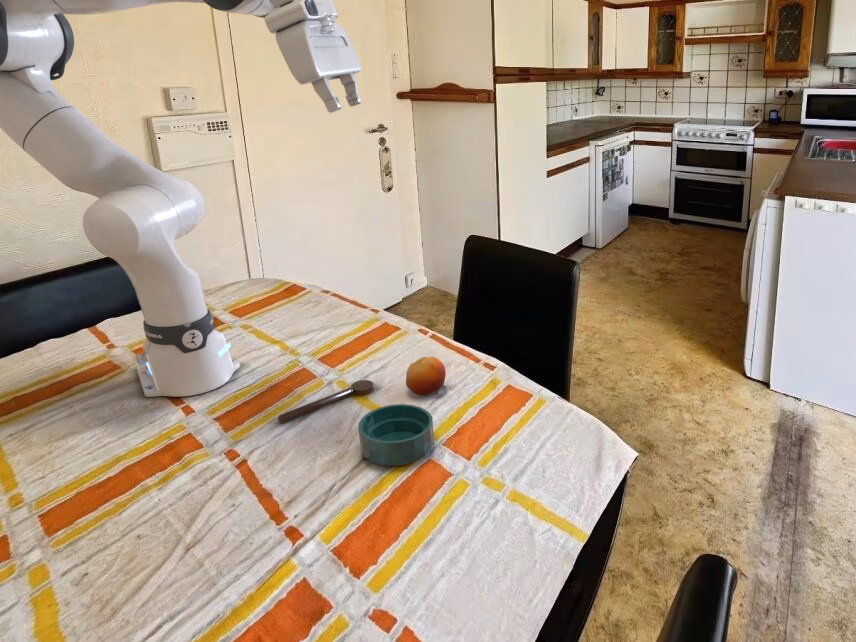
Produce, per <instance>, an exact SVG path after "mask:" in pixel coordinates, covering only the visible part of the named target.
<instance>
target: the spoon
mask: <svg viewBox="0 0 856 642" xmlns="http://www.w3.org/2000/svg"><path fill="white" fill-rule="evenodd" d="M374 391H375V384H374V382H373V381H372V380H368V379H361V380H356V381H354V382H353V383H351V385H350V387H347V388H345V389H343V390H340V391H337V392H334V393H332V394H329V395H327V396H325V397H321V398H319V399H317V400H314V401H312V402H309V403H306V404H304V405H302V406H299V407H296V408H294V409H292V410H289V411H286V412H284V413H281V414H279V415H278V417H277V421H278V422H279V423H280V424H285V423H288V422H289V421H290V422H291V421H292V420H294V419H297V418H299V417H302V416H304V415H307V414H310V413H312V412H315V411H317V410H320V409H322V408H324V407H327V406H329V405H332V404H334V403H336V402H337V403H338V402H340V401H341V400H344V399H346V398H349V397H352V396H353V395H355V396H359V397H361V396H362V397H363V396H368V395H371V394H372V393H373V392H374Z"/></svg>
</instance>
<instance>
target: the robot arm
mask: <svg viewBox="0 0 856 642" xmlns="http://www.w3.org/2000/svg"><path fill="white" fill-rule="evenodd" d="M168 3H169V4H170V3H194V4H195V3H198V4H206V5H208V6H209V7H210V8H212V9H215V10H216V11H217V10H218V11H220V12H223V13H228V14H237V15H246V16H253V17H258V18H262V19H264V23H265V25H266V27H267V29H268V31H269V32H270V33H271V34H273V35H275V40H276V44H277V46H278V48H279V51H280V53H281V55H282V57H283V59H284V61H285V64H286V66H287V67H288V69H289V71H290V73H291V75H292V77H293V78H294V80H296V81H297V83H298V84H300V85H302V86H303V85H308V84H311V85H312V88H313V90H314V91H315V93H316V94H317V96H318V97H319V98H320V99H321V101H322V102H323V103H324V106H325V108H326V111H327V112H328V113H334V112H337V111H340V110H341V109H342V105H341V103H340V101H339V98H338V96H335V94H334V93H333V90H332V88H331V87H330V86H331V84H330V81H333V80H338V79H339V81H340V83H341V85H342V86H343V88H344V91H345V95H346V96H345V99H346V101H347V104H348V106H349V107H351V108H352V107H356V106H358V105H361V103H362V99H361V97H360V95H359V92H358V84H357V79H356V77H355V75H356V74H358V73H361V72H362V67H361V62H360V59H359V57H358V55H357V52H356V50H355V48H354V46H353V44H352V41H351V39H350V36H349V35H348V33H347V31H346V29H345V28H344V26H342V24H339V23H337V22H335V21H336V20H337V19H338V18H339V13H338V10H337V8H336V6H335V3H334V1H333V0H0V129H1V130H2V131H3V132H4V133H5V134H6V135H7V137H9V138H10V139H11V140H12V141H13V142H14V143H15V144H16V145H17V146H19V148H20V149H22V150H23V151H24V152H25V153H26V154H27V155H29V156H30V157H31V158H32V159H33V160H34V161H36V162H37V163H38V164H39V165H40V166H41V167H43V168H44V169H45V170H46V171H47V172H49V173H50V174H51V175H52V176H53V177H54V178H56V180H58V181H59V182H60V183H61V184H62V185H64V186H66V187H67V188H69V189H71V190H74V191H76V192H81V193H85V194H88V195H91V196H93V197H96V198H98V199H97V200H96V201H95V202H93V203H92V204H91V205H89V207H87V208H86V210H85V211H84V213H83V215H82V228H83V232H84V234H85V236H86V238H87V240H88V242H89V243H90V244H91V246H92V247H93V248H94V249H96V250H97V251H98V252H99V253H100V254H102V255H104V256H106V257H107V258H110V259H112V260H113V261H115V262H116V263H117V264H118V265H119V266H120V268H122V270H123V271H124V273H125V274H126V276H127V277H128V279H129V281H130V282H131V285H132V287H133V289H134V291H135V294H136V298H137V300H138V303H139V306H140V309H141V313H142V316H143V318H144V319H143V321H142V323H143V332H144V335H145V341H144V342H143V344H142V346H141V348H142V351H143V352H142V353H137V354H135V358H136V362H137V364H136V372H137V375H138V379H139V382H140V385H141V389H142V391H143V395H144V397H146V398H155V397H174V398H181V397H192V396H197V395H200V394H205V393H208V392H210V391H213V390H216V389H217V388H220V387H222V386H223V385H225V384H226V383H227V382H229V381H230V380H231V379H232V377H233V374H234V372H236V371H237V370H239V369H240V368H241V364H240V362H239V361H238V360H237V359H233V358H232V357H231V354H230V351H229V349H230V348H231V347H232V345H231V343H230V342H228V343H227V342H226V341H227V340H226V338H225V335H224V333H222V332H220V331H219V330H216V329H215V324H214V318H213V316H212V313H211V310H210V309H208V307H207V303H206V298H205V294H204V291H203V287H202V283H201V279H200V276H199V273H198V272H197V271H196V270H195V269H194V268H193V267H190V266H188V265H186V264H185V263H184V262H183V260H182V259H181V257H180V255H179V253H178V251H177V249H176V245H175V241H176V240H178V239H180V238H183V237H185V236H187V235H189V234H190V233H191V232H193V230H194V229H196V228H197V227H198V225H199V224H200V223H201V221H202V220H203V219H204V216H205V213H206V204H205V199H204V198H203V196H202V193H201V192H200V191H199V189H198V188H197V187H196V186H195V185H194V184H193V183H191V182H190V181H187V180H186V179H184V178H180V177H177V176H173V175H171V174H169V173H166V172H164V171H163V170H160V169H158V168H156V167H155V166H153V165H151V164H149V163H148V162H146V161H145V160H143V159H141V158H139V157H138V156H136V155H135V154H133V153H131V152H130V151H128V150H126V149H125V148H124V147H122V146H121V145H119V144H117V142H115V141H114V140H112V138H110V137H109V136H108V135H107V134H105V133H104V132H103V131H102V129H100V128H99V127H98V126H97V125H95V124H94V123H93V122H92V121H91V120H90V119H89V118H88V117H86V116H85V115H84V114H83V113H82V112H81V111H80V110H79V109H77V108H76V107H75V106H74V105H73V104H72V103H71V102H69V100H67V99H66V98H65V97H64V96H62V94H61V93H60V92H58V91H57V90H56V88H55V87H54V85H53V83H52V81H56V80H59V79H61V78H62V77H63V76H64V74H65V70H66V65H67V64H68V62H69V61H70V59H71V57H72V55H73V53H74V49H75V36H74V31H73V28H72V26H71V24H70V22H69V20H68V18H67V17H66V16H65V15H77V16H79V15H80V16H84V15H85V16H86V15H100V14H109V13H115V12H120V11H126V10H130V9H131V10H132V9H136V8H143V7H149V6H153V5H161V4H168ZM57 74H58V75H57Z"/></svg>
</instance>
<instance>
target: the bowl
mask: <svg viewBox="0 0 856 642" xmlns="http://www.w3.org/2000/svg"><path fill="white" fill-rule="evenodd" d="M433 419H434V418H433V416H432V414H431V413H430V412H429V410H427V409H425V408H423V407H421V406H417V405H414V404H405V403H397V404H396V403H395V404H387V405H385V406H379V407H378V408H375V409H373V410H370V411H369V412H368V413H366V414H365V415H363V416H362V418H361V419H360V421H359V422H358V427H357V431H358V437H359V444H360V450H361V451H360V452H361V453H362V456H363V457H364V458H366V460H368V461H370V462H371V463H374V464H378V465H382V466H391V467H392V466H393V467H395V466H404V465H409V464H411V463H415V462H417V461H419V460H422V459H423V458H425V457H426V456H427V455H429V453H430V452H431V451H432V450H433V448H434V445H435V433H434V420H433Z"/></svg>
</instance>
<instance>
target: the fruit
mask: <svg viewBox="0 0 856 642" xmlns="http://www.w3.org/2000/svg"><path fill="white" fill-rule="evenodd" d="M446 376H447V371H446V367H445V365H444V363H443V362H442V361H441V360H440V359H439V358H437V357H435V356H423V357H421V358H418V359H417V360H416V361H414V362H412V363H410V364H409V366H408V368H407V370H406V374H405V385H406V388H407V389H408V390H410V391H411V392H412V393H413V394H414V395H417V396H419V397H428V396H433V395H434V396H438V393H439V392H440V389H441V388H442V387H444V388H447V386H445V380H446Z"/></svg>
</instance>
